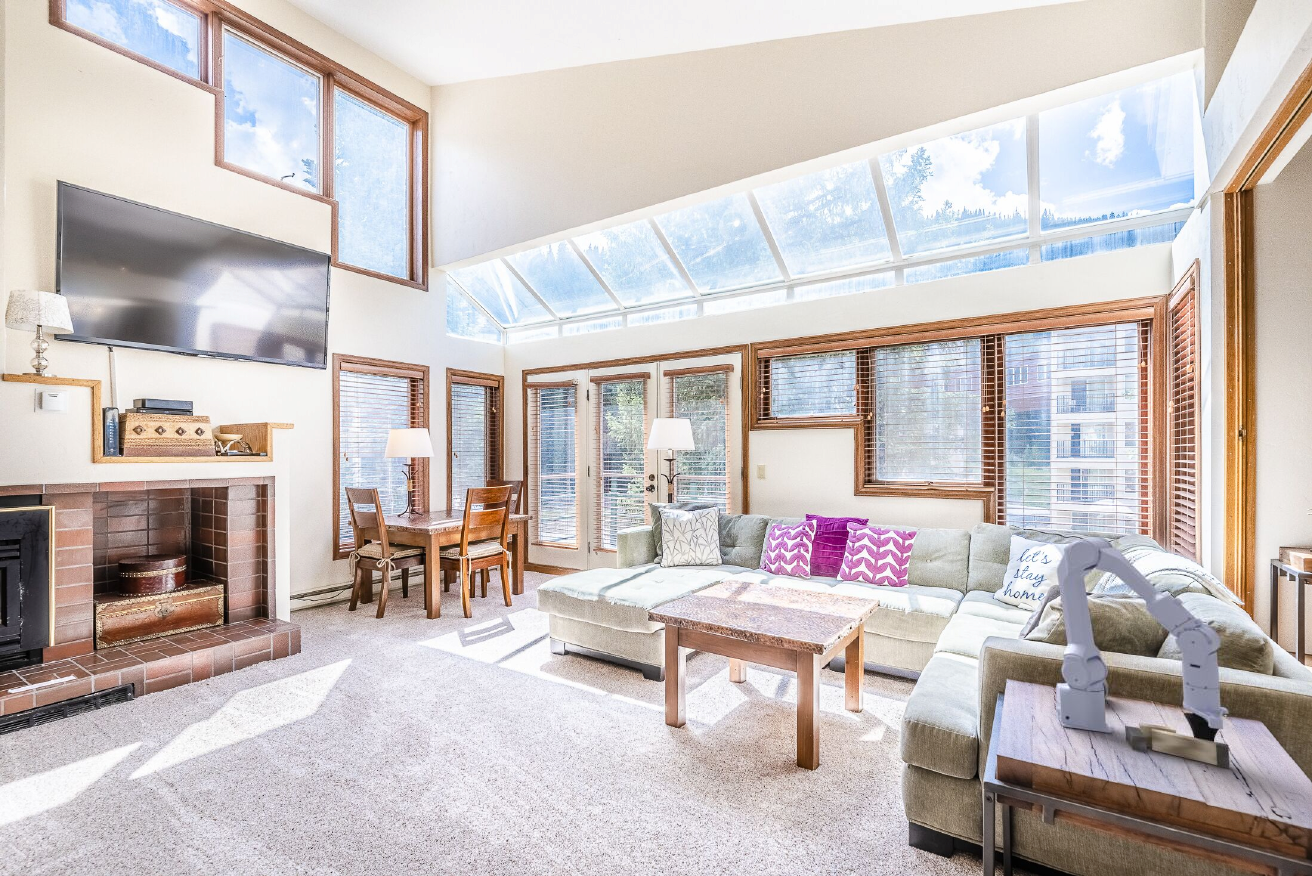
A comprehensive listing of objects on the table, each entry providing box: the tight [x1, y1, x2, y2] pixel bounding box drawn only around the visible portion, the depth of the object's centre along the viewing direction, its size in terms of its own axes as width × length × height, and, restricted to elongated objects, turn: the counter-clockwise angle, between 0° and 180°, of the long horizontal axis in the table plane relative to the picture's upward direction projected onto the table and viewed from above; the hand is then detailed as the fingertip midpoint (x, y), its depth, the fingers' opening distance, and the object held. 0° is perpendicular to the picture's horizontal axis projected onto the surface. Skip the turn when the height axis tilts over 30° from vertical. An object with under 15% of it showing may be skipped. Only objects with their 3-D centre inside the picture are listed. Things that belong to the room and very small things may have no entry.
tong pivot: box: [1124, 722, 1177, 753], centre depth 132 cm, size 8×6×4 cm, turn 65°
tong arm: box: [1151, 728, 1231, 769], centre depth 127 cm, size 12×2×4 cm, turn 46°
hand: (1204, 751), depth 126 cm, fingers closed, pressing on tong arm
